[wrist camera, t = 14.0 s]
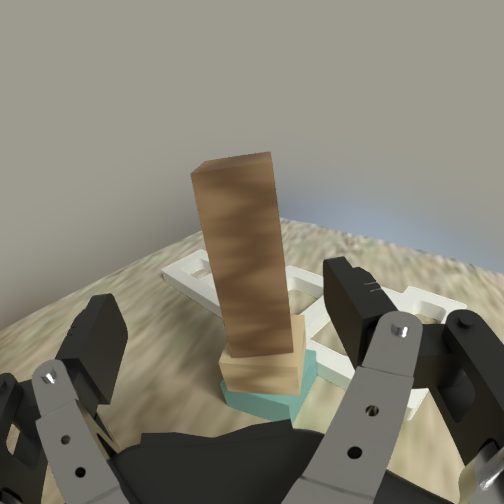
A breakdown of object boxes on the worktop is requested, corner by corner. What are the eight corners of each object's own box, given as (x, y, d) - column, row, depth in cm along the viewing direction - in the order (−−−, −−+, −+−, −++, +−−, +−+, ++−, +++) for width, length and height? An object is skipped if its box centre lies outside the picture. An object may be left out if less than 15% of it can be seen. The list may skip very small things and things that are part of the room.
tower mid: (228, 391, 27) (218, 362, 25) (244, 343, 32) (237, 314, 30) (299, 395, 25) (297, 366, 23) (306, 345, 30) (304, 314, 29)
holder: (164, 282, 55) (160, 269, 54) (239, 243, 65) (236, 231, 64) (408, 424, 23) (414, 409, 22) (462, 321, 34) (467, 304, 32)
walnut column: (232, 357, 25) (190, 173, 19) (237, 321, 29) (204, 161, 23) (293, 352, 24) (272, 161, 18) (290, 315, 29) (270, 151, 23)
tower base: (228, 407, 29) (219, 383, 27) (258, 362, 35) (253, 337, 33) (291, 427, 26) (288, 405, 24) (316, 376, 31) (316, 351, 29)
